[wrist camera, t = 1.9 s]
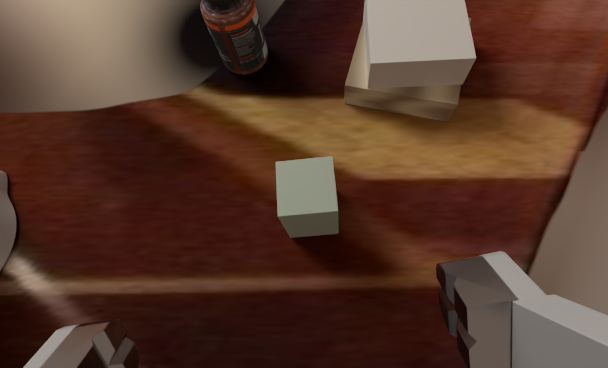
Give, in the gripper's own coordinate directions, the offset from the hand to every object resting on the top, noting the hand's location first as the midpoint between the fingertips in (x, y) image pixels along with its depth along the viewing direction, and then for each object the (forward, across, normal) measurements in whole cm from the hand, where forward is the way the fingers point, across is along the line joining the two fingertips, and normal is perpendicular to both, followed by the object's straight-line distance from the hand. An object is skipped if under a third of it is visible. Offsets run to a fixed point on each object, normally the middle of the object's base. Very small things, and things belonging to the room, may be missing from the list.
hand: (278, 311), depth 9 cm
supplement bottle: (+41, +6, -6) cm, 42 cm away
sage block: (+26, +1, +10) cm, 28 cm away
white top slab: (+35, -13, -3) cm, 38 cm away
